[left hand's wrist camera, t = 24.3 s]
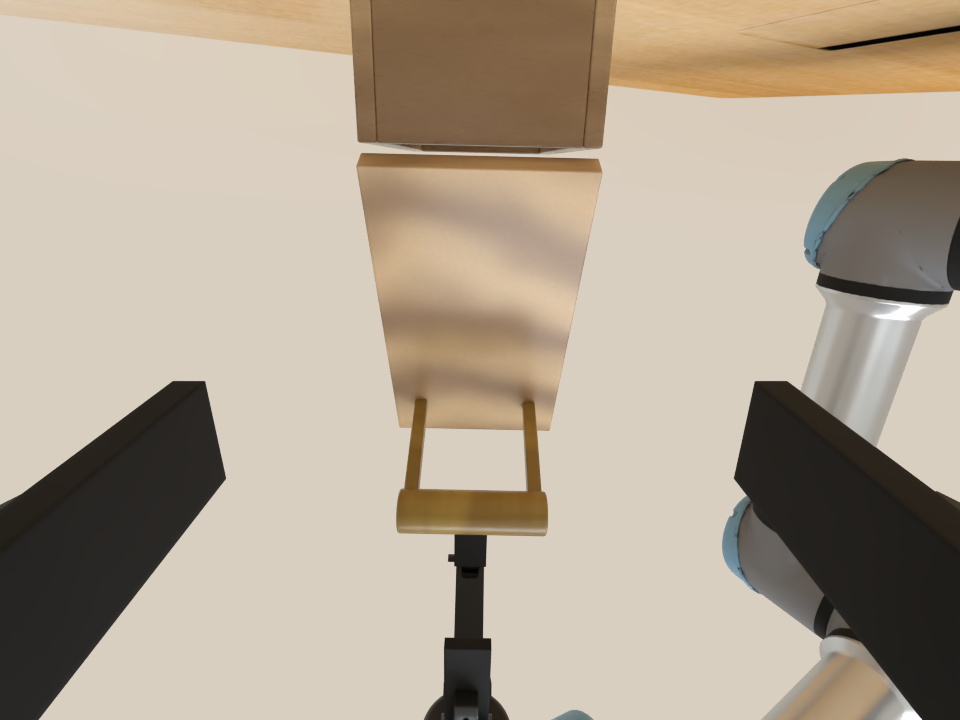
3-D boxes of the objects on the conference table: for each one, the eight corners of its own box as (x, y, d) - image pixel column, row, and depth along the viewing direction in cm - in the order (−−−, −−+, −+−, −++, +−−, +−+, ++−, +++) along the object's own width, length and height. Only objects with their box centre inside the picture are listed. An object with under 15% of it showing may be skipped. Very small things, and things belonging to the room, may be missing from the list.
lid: (548, 416, 33) (561, 555, 27) (401, 413, 33) (381, 552, 27) (599, 158, 20) (644, 311, 14) (360, 152, 20) (306, 303, 14)
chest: (562, -43, 32) (549, 154, 36) (407, -47, 32) (412, 151, 36) (641, -244, 16) (602, 148, 20) (334, -253, 16) (357, 142, 20)
